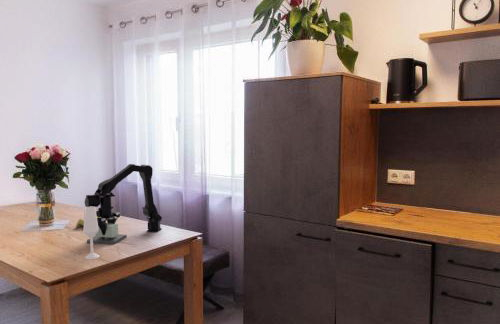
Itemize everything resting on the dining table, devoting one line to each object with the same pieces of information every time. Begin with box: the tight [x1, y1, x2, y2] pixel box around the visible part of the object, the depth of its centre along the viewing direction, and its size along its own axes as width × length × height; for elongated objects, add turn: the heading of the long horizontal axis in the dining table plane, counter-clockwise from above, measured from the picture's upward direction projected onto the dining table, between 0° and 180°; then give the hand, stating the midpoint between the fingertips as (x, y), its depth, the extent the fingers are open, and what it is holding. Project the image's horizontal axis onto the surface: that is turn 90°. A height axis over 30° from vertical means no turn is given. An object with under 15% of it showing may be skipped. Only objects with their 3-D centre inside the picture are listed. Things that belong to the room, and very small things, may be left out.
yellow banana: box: [75, 217, 101, 228], centre depth 246 cm, size 20×7×10 cm
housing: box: [95, 222, 119, 238], centre depth 211 cm, size 10×6×6 cm, turn 79°
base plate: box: [86, 233, 128, 245], centre depth 212 cm, size 16×13×4 cm
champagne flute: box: [82, 206, 100, 260], centre depth 184 cm, size 7×7×24 cm
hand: (107, 233), depth 212 cm, fingers closed on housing, 6 cm apart
